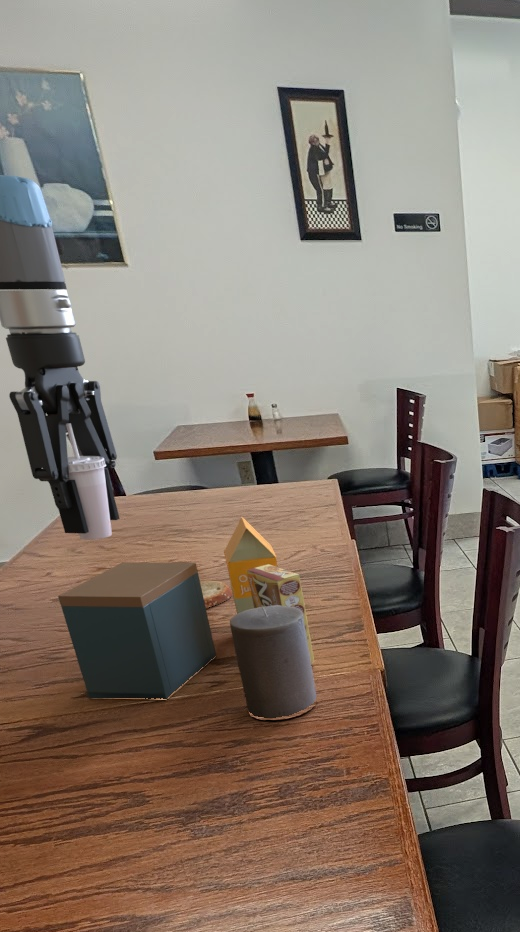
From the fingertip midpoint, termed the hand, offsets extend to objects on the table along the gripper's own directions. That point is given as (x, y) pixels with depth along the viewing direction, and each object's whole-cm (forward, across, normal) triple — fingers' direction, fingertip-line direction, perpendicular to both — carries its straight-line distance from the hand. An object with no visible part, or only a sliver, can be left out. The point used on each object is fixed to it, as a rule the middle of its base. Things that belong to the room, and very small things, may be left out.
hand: (93, 525), depth 106 cm
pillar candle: (+27, +2, -21) cm, 34 cm away
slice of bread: (+27, +42, +18) cm, 53 cm away
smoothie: (+2, 0, 0) cm, 2 cm away
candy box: (+27, +16, -15) cm, 35 cm away
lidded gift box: (+27, +10, +4) cm, 29 cm away
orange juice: (+27, +28, -6) cm, 39 cm away
